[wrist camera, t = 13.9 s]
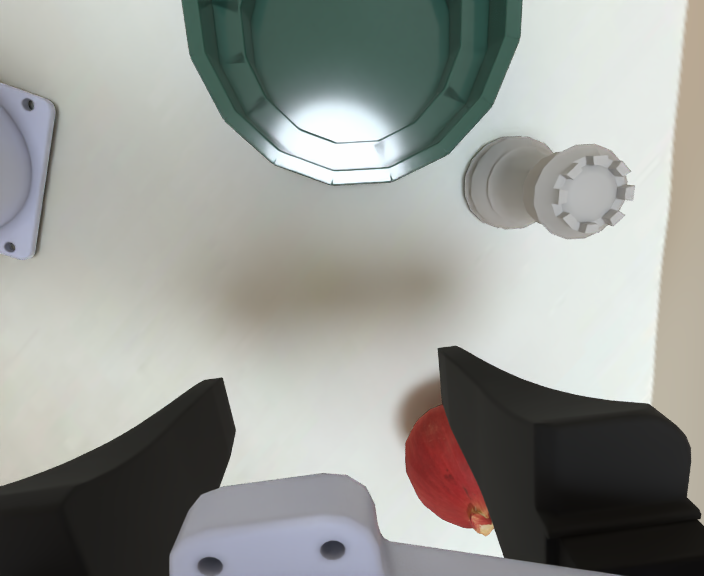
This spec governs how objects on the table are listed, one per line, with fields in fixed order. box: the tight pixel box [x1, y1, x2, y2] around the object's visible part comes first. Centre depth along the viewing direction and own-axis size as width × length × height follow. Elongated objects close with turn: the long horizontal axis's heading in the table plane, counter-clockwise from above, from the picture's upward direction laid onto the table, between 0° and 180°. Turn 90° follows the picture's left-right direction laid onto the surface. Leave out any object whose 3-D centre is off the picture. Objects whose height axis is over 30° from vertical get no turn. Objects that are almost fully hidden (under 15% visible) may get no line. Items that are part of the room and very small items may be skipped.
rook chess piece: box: [465, 136, 635, 239], centre depth 18 cm, size 4×4×8 cm
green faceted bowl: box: [181, 0, 522, 186], centre depth 17 cm, size 12×12×4 cm
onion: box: [405, 404, 494, 536], centre depth 22 cm, size 6×6×8 cm
